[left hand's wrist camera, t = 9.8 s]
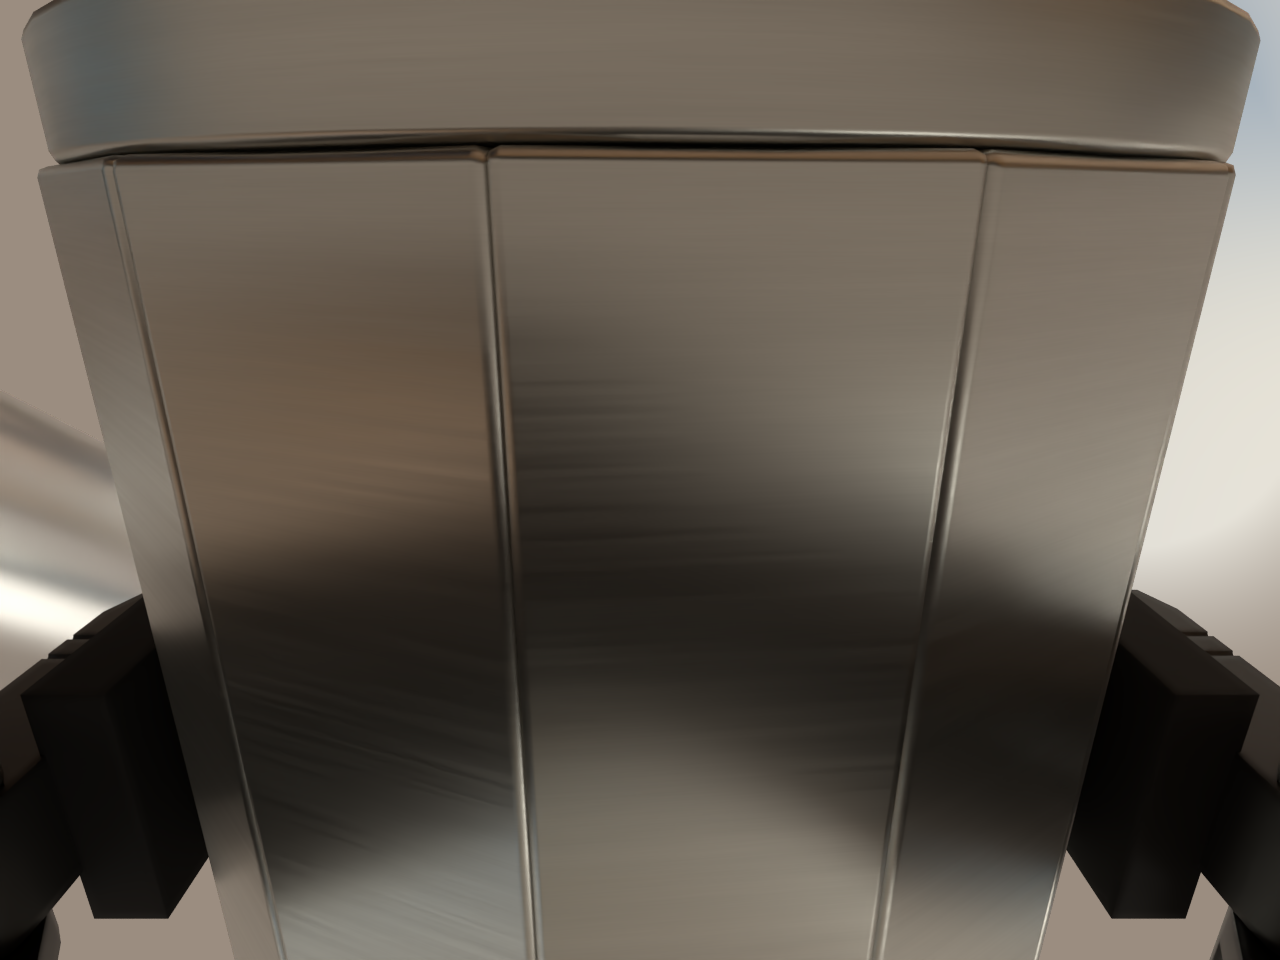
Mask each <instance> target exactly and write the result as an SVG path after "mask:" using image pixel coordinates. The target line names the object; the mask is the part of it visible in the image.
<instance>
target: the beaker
mask: <svg viewBox="0 0 1280 960" xmlns="http://www.w3.org/2000/svg"><path fill="white" fill-rule="evenodd" d="M22 43H23V47H24V52H25V56H26V60H27V64H28V68H29V72H30V76H31V80H32V84H33V88H34V92H35V97H36V100H37V105H38V109H39V113H40V117H41V121H42V125H43V129H44V133H45V137H46V141H47V145H48V149H49V152H50V154H51V155H52V156H53V158H54V159H55V160H56V161H57V162H58V163H59V164H60V165H54V166H48V167H45V168H43V169H40V170H39V173H38V182H39V186H40V190H41V193H42V197H43V201H44V205H45V209H46V213H47V217H48V221H49V225H50V229H51V233H52V237H53V241H54V245H55V249H56V253H57V257H58V261H59V265H60V269H61V273H62V277H63V280H64V285H65V289H66V293H67V297H68V300H69V305H70V308H71V312H72V316H73V320H74V324H75V328H76V332H77V336H78V340H79V344H80V348H81V352H82V356H83V360H84V364H85V368H86V372H87V376H88V380H89V384H90V388H91V392H92V396H93V400H94V404H95V407H96V412H97V416H98V419H99V423H100V427H101V431H102V435H103V439H104V443H105V447H106V451H107V455H108V459H109V463H110V467H111V471H112V475H113V479H114V483H115V487H116V491H117V495H118V499H119V503H120V507H121V511H122V515H123V519H124V523H125V527H126V530H127V534H128V538H129V542H130V546H131V550H132V554H133V558H134V562H135V566H136V570H137V574H138V578H139V582H140V586H141V590H142V594H143V598H144V602H145V606H146V610H147V614H148V618H149V622H150V626H151V630H152V634H153V638H154V641H155V645H156V649H157V653H158V657H159V661H160V665H161V669H162V673H163V677H164V681H165V685H166V689H167V693H168V697H169V701H170V705H171V709H172V713H173V717H174V721H175V725H176V729H177V733H178V737H179V741H180V745H181V749H182V752H183V756H184V760H185V764H186V768H187V772H188V776H189V780H190V784H191V788H192V792H193V796H194V800H195V804H196V808H197V812H198V816H199V820H200V824H201V828H202V832H203V836H204V840H205V844H206V848H207V852H208V856H209V859H210V863H211V867H212V871H213V875H214V879H215V883H216V887H217V891H218V895H219V899H220V903H221V907H222V911H223V915H224V919H225V923H226V927H227V931H228V935H229V939H230V943H231V947H232V951H233V955H234V959H235V960H1039V956H1040V952H1041V948H1042V945H1043V940H1044V937H1045V933H1046V929H1047V924H1048V920H1049V916H1050V913H1051V909H1052V905H1053V901H1054V897H1055V893H1056V889H1057V884H1058V881H1059V877H1060V873H1061V869H1062V865H1063V861H1064V857H1065V853H1066V849H1067V845H1068V841H1069V837H1070V833H1071V829H1072V825H1073V821H1074V817H1075V813H1076V809H1077V805H1078V801H1079V797H1080V793H1081V789H1082V785H1083V781H1084V777H1085V773H1086V769H1087V765H1088V761H1089V757H1090V753H1091V749H1092V745H1093V741H1094V737H1095V733H1096V729H1097V725H1098V721H1099V717H1100V713H1101V709H1102V705H1103V701H1104V697H1105V693H1106V689H1107V685H1108V682H1109V678H1110V674H1111V670H1112V666H1113V662H1114V658H1115V654H1116V650H1117V646H1118V642H1119V638H1120V634H1121V630H1122V626H1123V622H1124V618H1125V614H1126V610H1127V606H1128V602H1129V598H1130V594H1131V590H1132V586H1133V582H1134V578H1135V574H1136V570H1137V565H1138V562H1139V558H1140V554H1141V550H1142V546H1143V542H1144V538H1145V534H1146V530H1147V526H1148V522H1149V518H1150V514H1151V510H1152V506H1153V502H1154V498H1155V494H1156V490H1157V486H1158V482H1159V478H1160V474H1161V470H1162V466H1163V462H1164V458H1165V454H1166V450H1167V446H1168V442H1169V438H1170V434H1171V430H1172V426H1173V422H1174V418H1175V415H1176V410H1177V407H1178V403H1179V399H1180V395H1181V391H1182V386H1183V383H1184V379H1185V375H1186V371H1187V367H1188V363H1189V359H1190V355H1191V351H1192V347H1193V343H1194V339H1195V335H1196V331H1197V327H1198V323H1199V319H1200V315H1201V311H1202V307H1203V303H1204V299H1205V295H1206V291H1207V287H1208V283H1209V279H1210V275H1211V271H1212V267H1213V263H1214V259H1215V255H1216V251H1217V247H1218V243H1219V239H1220V235H1221V231H1222V227H1223V223H1224V219H1225V215H1226V211H1227V207H1228V203H1229V199H1230V195H1231V191H1232V187H1233V183H1234V179H1235V170H1234V166H1233V165H1231V164H1228V163H1226V161H1227V160H1228V158H1229V157H1230V156H1231V154H1232V153H1233V149H1234V145H1235V141H1236V137H1237V133H1238V129H1239V125H1240V121H1241V117H1242V113H1243V109H1244V105H1245V100H1246V96H1247V92H1248V88H1249V84H1250V80H1251V76H1252V72H1253V68H1254V64H1255V60H1256V56H1257V52H1258V48H1259V44H1260V37H1259V32H1258V30H1257V28H1256V26H1255V24H1254V22H1253V21H1252V19H1251V17H1250V15H1249V14H1248V13H1247V12H1246V11H1244V10H1242V9H1240V8H1239V7H1237V6H1235V5H1234V4H1232V3H1230V2H1229V1H1227V0H53V1H51V2H50V3H48V4H46V5H45V6H43V7H41V8H40V9H38V10H36V11H34V12H33V14H32V16H31V17H30V19H29V21H28V23H27V25H26V27H25V28H24V30H23V35H22Z"/></svg>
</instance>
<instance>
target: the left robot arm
mask: <svg viewBox="0 0 1280 960" xmlns="http://www.w3.org/2000/svg"><path fill="white" fill-rule="evenodd" d="M1066 850H1067V851H1068V853H1069V854H1070V856H1071V857H1072V859H1073V860H1074V862H1075V863H1076V865H1077V867H1078V868H1079V870H1080V871H1081V873H1082V874H1083V876H1084V877H1085V879H1086V880H1087V882H1088V883H1089V885H1090V886H1091V888H1092V889H1093V891H1094V892H1095V894H1096V895H1097V897H1098V898H1099V900H1100V902H1101V903H1102V905H1103V906H1104V908H1105V909H1106V911H1107V912H1108V914H1109V915H1110V917H1111V918H1112V919H1131V918H1132V919H1165V918H1166V919H1178V918H1179V919H1185V918H1186V915H1187V912H1188V909H1189V906H1190V903H1191V900H1192V897H1193V894H1194V891H1195V888H1196V885H1197V882H1198V879H1199V876H1200V873H1202V874H1203V875H1204V876H1205V877H1206V879H1207V880H1208V881H1209V882H1210V883H1211V885H1212V886H1213V887H1214V888H1215V889H1216V890H1217V892H1218V893H1219V894H1220V895H1221V896H1222V898H1223V899H1224V900H1225V901H1226V902H1227V904H1228V905H1229V907H1228V910H1227V912H1226V915H1225V918H1224V921H1223V924H1222V926H1221V929H1220V932H1219V935H1218V938H1217V941H1216V943H1215V946H1214V949H1213V952H1212V955H1211V957H1210V960H1280V687H1279V686H1278V685H1277V684H1275V683H1274V682H1273V681H1272V680H1270V679H1269V678H1268V677H1266V676H1265V675H1264V674H1262V673H1261V672H1260V671H1258V670H1257V669H1256V668H1254V667H1253V666H1252V665H1251V664H1249V663H1248V662H1247V661H1245V660H1244V659H1243V658H1241V657H1240V656H1233V651H1232V650H1231V649H1229V648H1228V647H1227V646H1225V645H1224V644H1223V643H1222V642H1220V641H1219V640H1218V639H1216V638H1215V637H1214V636H1208V634H1207V631H1206V630H1204V629H1203V628H1202V627H1200V626H1199V625H1198V624H1197V623H1195V622H1194V621H1193V620H1191V619H1190V618H1189V617H1187V616H1186V615H1185V614H1183V613H1182V612H1181V611H1179V610H1178V609H1176V608H1174V607H1172V606H1170V605H1168V604H1166V603H1164V602H1162V601H1159V600H1157V599H1155V598H1153V597H1151V596H1149V595H1147V594H1145V593H1143V592H1140V591H1138V590H1131V594H1130V598H1129V602H1128V606H1127V610H1126V614H1125V618H1124V622H1123V626H1122V630H1121V634H1120V638H1119V642H1118V646H1117V650H1116V654H1115V658H1114V662H1113V666H1112V670H1111V674H1110V678H1109V682H1108V685H1107V689H1106V693H1105V697H1104V701H1103V705H1102V709H1101V713H1100V717H1099V721H1098V725H1097V729H1096V733H1095V737H1094V741H1093V745H1092V749H1091V753H1090V757H1089V761H1088V765H1087V769H1086V773H1085V777H1084V781H1083V785H1082V789H1081V793H1080V797H1079V801H1078V805H1077V809H1076V813H1075V817H1074V821H1073V825H1072V829H1071V833H1070V837H1069V841H1068V845H1067V849H1066ZM208 857H209V856H208V852H207V848H206V844H205V840H204V836H203V832H202V828H201V824H200V820H199V816H198V812H197V808H196V804H195V800H194V796H193V792H192V788H191V784H190V780H189V776H188V772H187V768H186V764H185V760H184V756H183V752H182V749H181V745H180V741H179V737H178V733H177V729H176V725H175V721H174V717H173V713H172V709H171V705H170V701H169V697H168V693H167V689H166V685H165V681H164V677H163V673H162V669H161V665H160V661H159V657H158V653H157V649H156V645H155V641H154V638H153V634H152V630H151V626H150V622H149V618H148V614H147V610H146V606H145V602H144V598H143V594H139V595H137V596H135V597H133V598H131V599H129V600H127V601H125V602H123V603H121V604H119V605H116V606H114V607H112V608H110V609H108V610H106V611H104V612H102V613H101V614H100V615H98V616H97V617H96V618H94V619H93V620H92V621H90V622H89V623H88V624H87V625H85V626H84V627H83V628H81V629H80V630H79V631H77V632H76V633H75V634H73V639H67V640H66V641H64V642H63V643H62V644H60V645H59V646H58V647H57V648H55V649H54V650H53V651H51V652H50V653H49V654H48V658H47V659H41V660H40V661H38V662H37V663H36V664H34V665H33V666H32V667H30V668H29V669H28V670H27V671H25V672H24V673H23V674H21V675H20V676H19V677H17V678H16V679H15V680H13V681H12V682H11V683H10V684H8V685H7V686H6V687H4V688H3V689H2V690H0V960H58V955H59V950H60V944H61V941H60V934H59V927H58V924H57V921H56V918H55V915H54V912H53V910H52V908H53V907H54V906H55V904H56V903H57V902H58V901H59V900H60V898H61V897H62V896H63V895H64V894H65V892H66V891H67V890H68V889H69V888H70V886H71V885H72V884H73V883H74V882H75V880H76V879H77V878H78V877H79V875H80V877H81V880H82V883H83V886H84V889H85V892H86V895H87V898H88V901H89V904H90V907H91V910H92V913H93V916H94V918H95V919H168V918H169V916H170V915H171V913H172V912H173V910H174V909H175V907H176V906H177V904H178V903H179V901H180V900H181V898H182V897H183V895H184V894H185V892H186V891H187V889H188V888H189V886H190V885H191V883H192V881H193V880H194V878H195V877H196V875H197V874H198V872H199V871H200V869H201V868H202V866H203V865H204V863H205V862H206V860H207V859H208Z"/></svg>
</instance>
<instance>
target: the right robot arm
mask: <svg viewBox="0 0 1280 960" xmlns="http://www.w3.org/2000/svg"><path fill="white" fill-rule="evenodd" d="M139 594H142V590H141V586H140V582H139V578H138V574H137V570H136V566H135V562H134V558H133V554H132V550H131V546H130V542H129V538H128V534H127V530H126V527H125V523H124V519H123V515H122V511H121V507H120V503H119V499H118V495H117V491H116V487H115V483H114V479H113V475H112V471H111V467H110V463H109V459H108V455H107V451H106V447H105V443H104V442H102V441H101V440H98V439H97V438H95V437H93V436H91V435H89V434H87V433H85V432H83V431H81V430H79V429H77V428H75V427H73V426H71V425H69V424H67V423H65V422H63V421H61V420H60V419H58V418H56V417H54V416H52V415H50V414H48V413H46V412H44V411H42V410H40V409H38V408H36V407H34V406H32V405H30V404H28V403H26V402H24V401H22V400H20V399H19V398H17V397H15V396H13V395H11V394H9V393H7V392H5V391H3V390H1V389H0V690H2V689H3V688H4V687H6V686H7V685H8V684H10V683H11V682H12V681H13V680H15V679H16V678H17V677H19V676H20V675H21V674H23V673H24V672H25V671H27V670H28V669H29V668H30V667H32V666H33V665H34V664H36V663H37V662H38V661H40V660H41V659H47V658H48V654H49V653H50V652H51V651H53V650H54V649H55V648H57V647H58V646H59V645H60V644H62V643H63V642H64V641H66V640H67V639H73V634H75V633H76V632H77V631H79V630H80V629H81V628H83V627H84V626H85V625H87V624H88V623H89V622H90V621H92V620H93V619H94V618H96V617H97V616H98V615H100V614H101V613H102V612H104V611H106V610H108V609H110V608H112V607H114V606H116V605H119V604H121V603H123V602H125V601H127V600H129V599H131V598H133V597H135V596H137V595H139Z"/></svg>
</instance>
